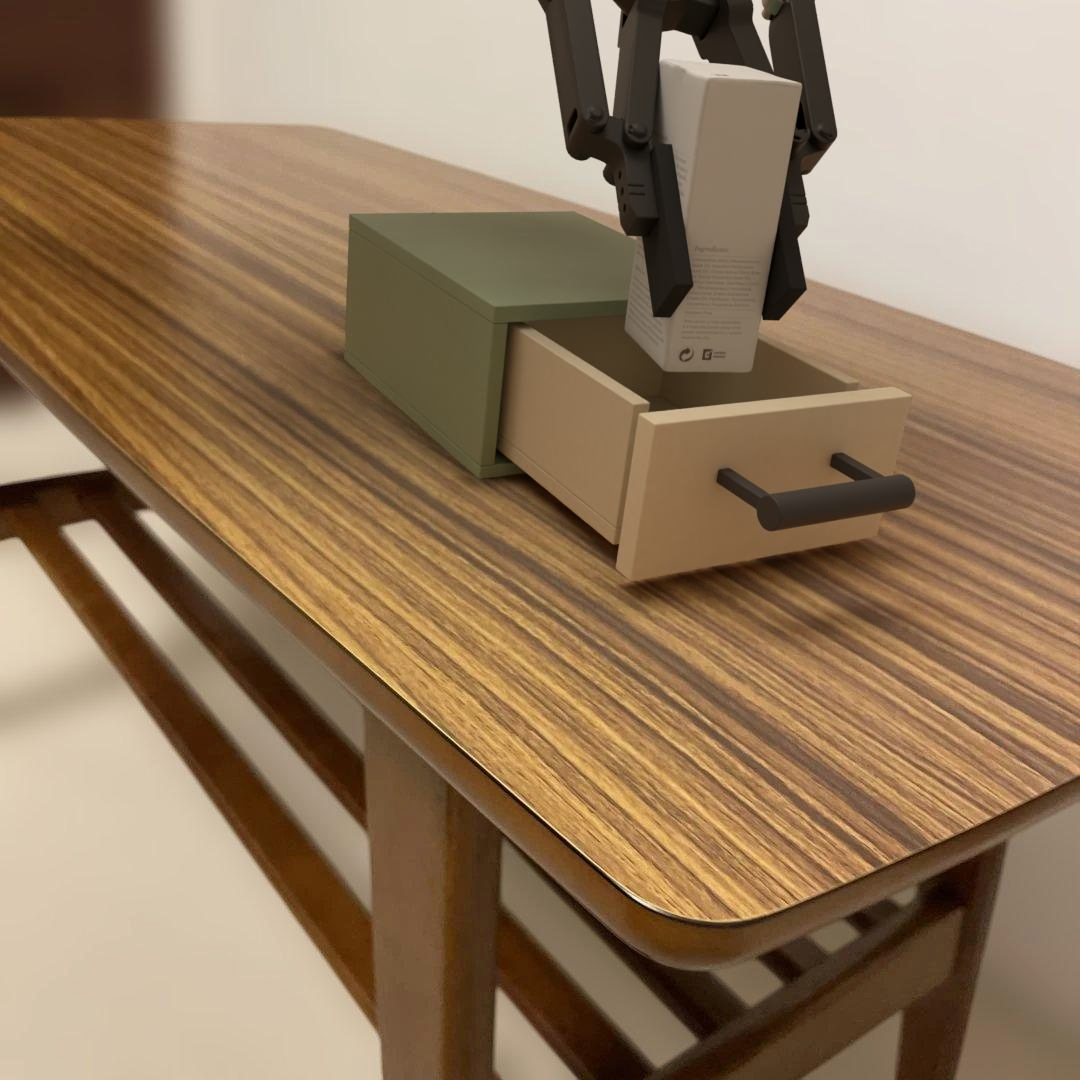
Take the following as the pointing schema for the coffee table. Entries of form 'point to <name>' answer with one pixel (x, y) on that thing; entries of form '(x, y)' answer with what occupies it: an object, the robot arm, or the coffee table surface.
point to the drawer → (698, 447)
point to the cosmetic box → (718, 210)
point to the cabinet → (469, 308)
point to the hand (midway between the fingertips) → (729, 302)
